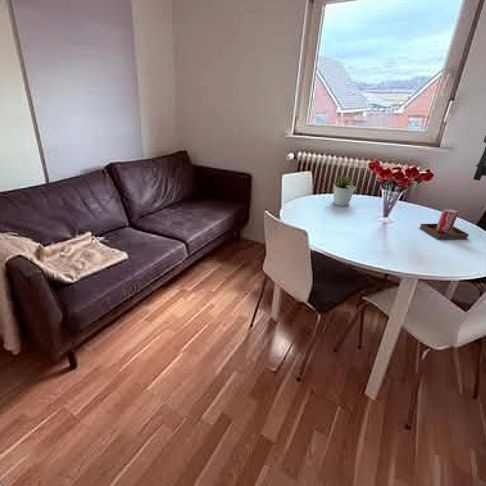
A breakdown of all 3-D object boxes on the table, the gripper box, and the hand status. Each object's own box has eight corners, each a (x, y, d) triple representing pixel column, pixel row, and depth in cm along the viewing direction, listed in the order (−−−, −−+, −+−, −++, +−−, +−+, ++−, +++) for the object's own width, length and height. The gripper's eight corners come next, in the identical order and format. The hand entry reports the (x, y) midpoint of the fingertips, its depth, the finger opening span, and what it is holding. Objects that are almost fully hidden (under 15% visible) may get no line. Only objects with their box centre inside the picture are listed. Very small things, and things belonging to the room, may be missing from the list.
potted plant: (327, 199, 203) (333, 169, 195) (350, 201, 200) (356, 171, 191) (329, 206, 192) (334, 174, 184) (352, 208, 189) (360, 176, 180)
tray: (467, 239, 153) (468, 234, 152) (437, 239, 152) (439, 234, 151) (446, 227, 165) (448, 223, 164) (419, 228, 164) (421, 223, 163)
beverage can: (453, 234, 156) (461, 212, 151) (443, 235, 155) (451, 213, 150) (442, 229, 162) (450, 207, 157) (432, 230, 160) (440, 208, 155)
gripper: (491, 131, 159) (475, 172, 168) (480, 135, 144) (464, 180, 153) (510, 133, 154) (493, 175, 163) (501, 137, 139) (483, 183, 148)
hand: (479, 177), depth 158 cm, fingers open, 13 cm apart
